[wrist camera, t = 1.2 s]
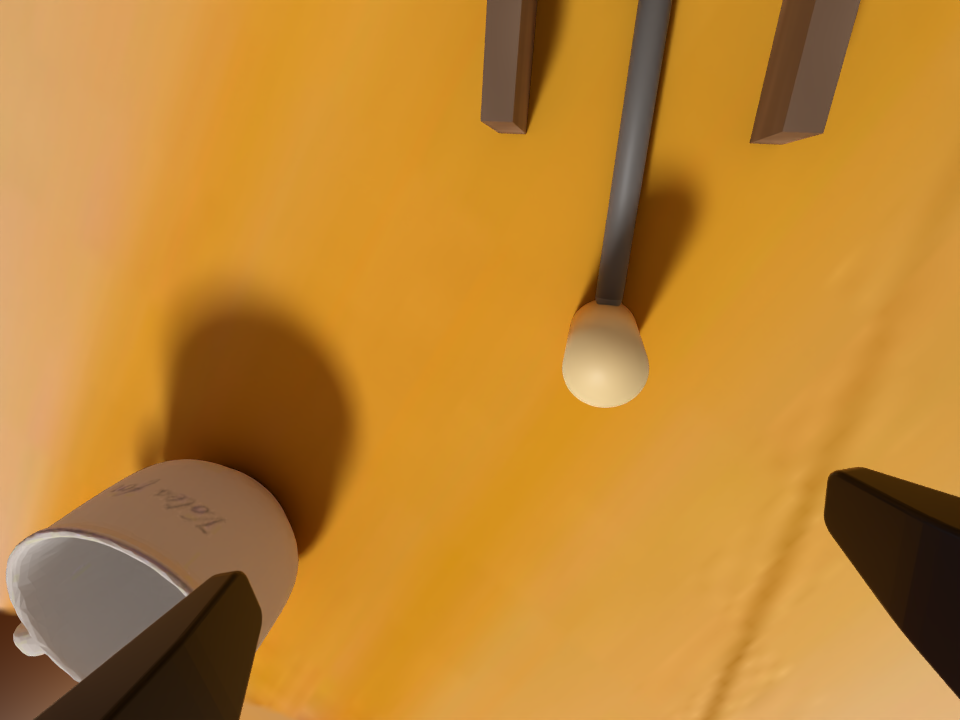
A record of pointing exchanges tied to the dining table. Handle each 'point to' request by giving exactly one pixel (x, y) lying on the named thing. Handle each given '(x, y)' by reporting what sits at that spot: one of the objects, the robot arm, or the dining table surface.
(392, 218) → the dining table surface
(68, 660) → the teacup
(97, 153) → the dining table surface
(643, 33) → the mallet
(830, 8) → the lane rack
